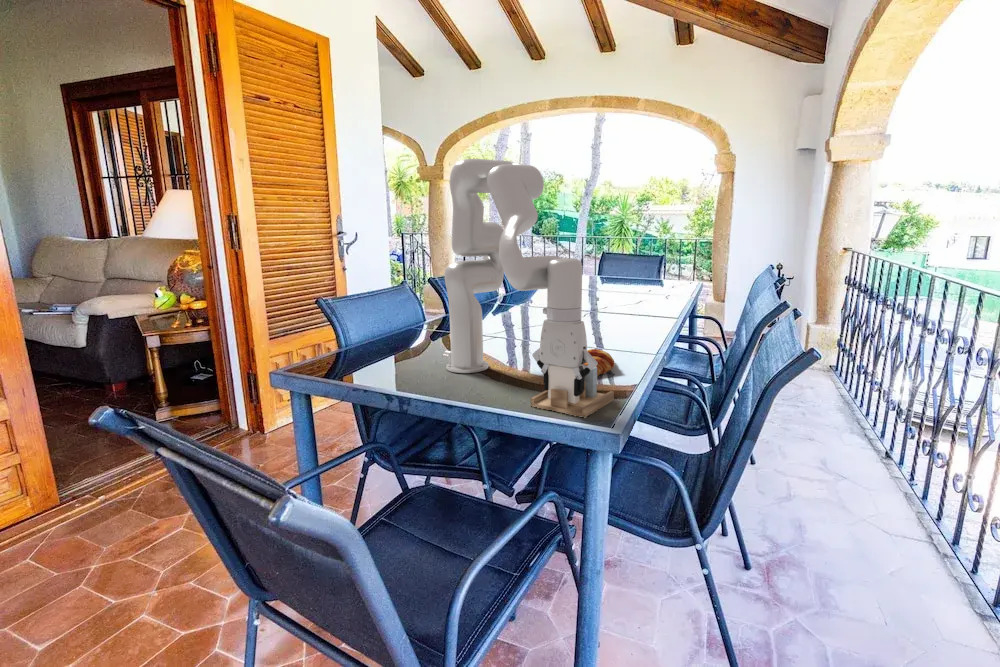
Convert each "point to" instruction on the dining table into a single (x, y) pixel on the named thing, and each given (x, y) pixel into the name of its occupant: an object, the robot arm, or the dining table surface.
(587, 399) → the dish rack
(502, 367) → the dining table surface
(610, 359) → the croissant
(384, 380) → the dining table surface
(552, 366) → the low beige gift box
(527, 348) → the dining table surface
